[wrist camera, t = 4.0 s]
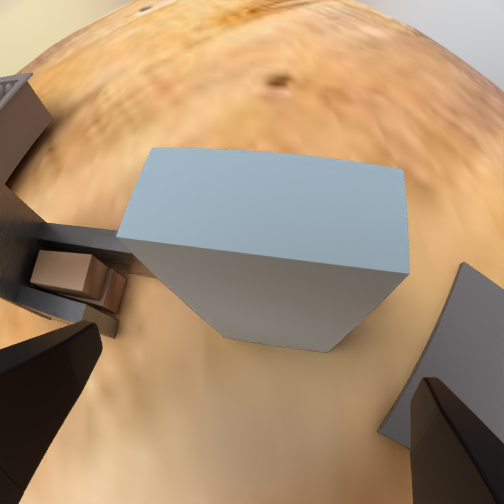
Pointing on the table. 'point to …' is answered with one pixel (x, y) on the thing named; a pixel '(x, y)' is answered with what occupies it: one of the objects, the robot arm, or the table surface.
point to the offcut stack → (79, 279)
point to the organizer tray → (18, 121)
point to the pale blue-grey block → (271, 240)
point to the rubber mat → (462, 355)
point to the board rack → (59, 240)
